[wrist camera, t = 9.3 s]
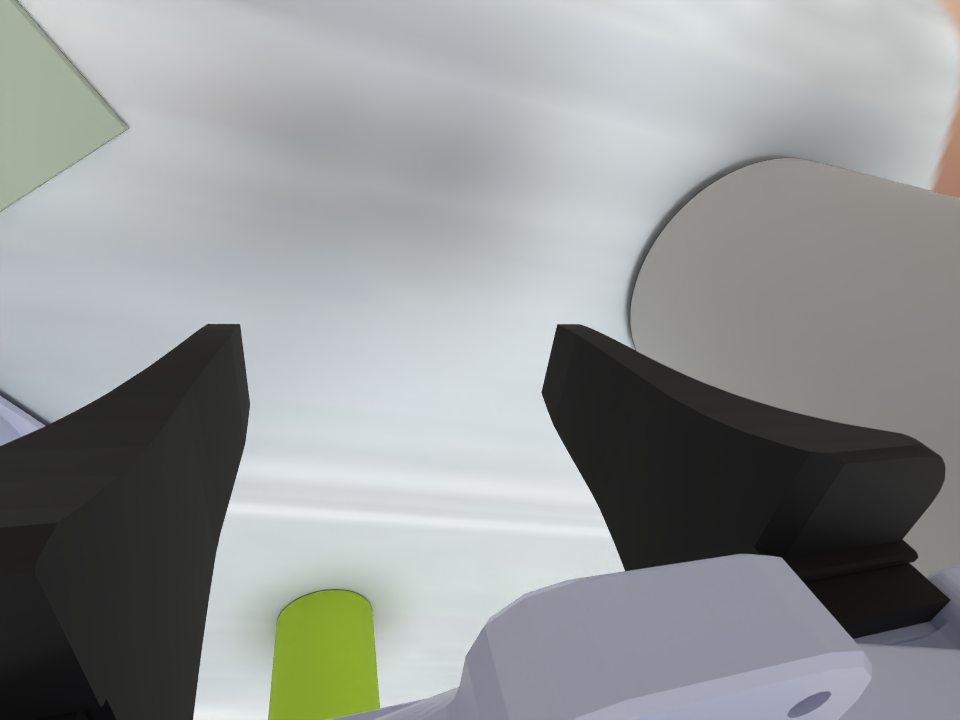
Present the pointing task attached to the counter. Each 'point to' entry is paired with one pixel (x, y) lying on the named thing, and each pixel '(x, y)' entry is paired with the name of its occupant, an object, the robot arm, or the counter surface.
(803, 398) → the cylinder vase
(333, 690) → the soap dispenser
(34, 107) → the sage mat
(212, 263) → the counter surface
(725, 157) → the counter surface
